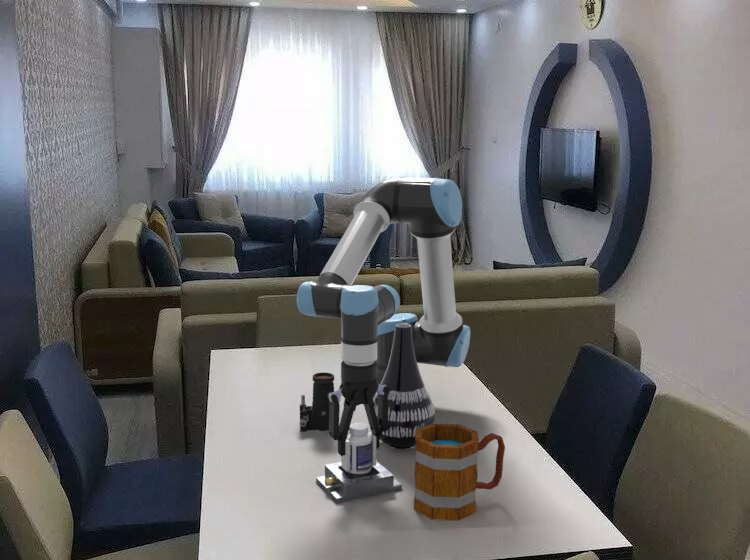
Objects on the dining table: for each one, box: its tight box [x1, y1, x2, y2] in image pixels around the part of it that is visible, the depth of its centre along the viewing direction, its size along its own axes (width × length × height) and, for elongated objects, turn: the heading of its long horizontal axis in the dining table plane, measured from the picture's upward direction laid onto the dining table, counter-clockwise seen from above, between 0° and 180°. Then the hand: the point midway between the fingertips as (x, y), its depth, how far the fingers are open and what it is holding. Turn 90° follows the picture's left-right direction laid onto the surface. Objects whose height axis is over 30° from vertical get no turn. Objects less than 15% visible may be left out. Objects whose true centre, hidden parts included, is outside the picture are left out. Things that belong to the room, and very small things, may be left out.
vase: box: [373, 324, 436, 450], centre depth 189 cm, size 16×16×30 cm
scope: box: [299, 372, 335, 433], centre depth 200 cm, size 8×14×10 cm
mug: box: [413, 422, 506, 522], centre depth 161 cm, size 20×14×15 cm
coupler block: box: [315, 460, 403, 504], centre depth 169 cm, size 15×11×4 cm
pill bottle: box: [347, 422, 372, 474], centre depth 168 cm, size 5×5×10 cm
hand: (358, 465), depth 169 cm, fingers closed on pill bottle, 5 cm apart
